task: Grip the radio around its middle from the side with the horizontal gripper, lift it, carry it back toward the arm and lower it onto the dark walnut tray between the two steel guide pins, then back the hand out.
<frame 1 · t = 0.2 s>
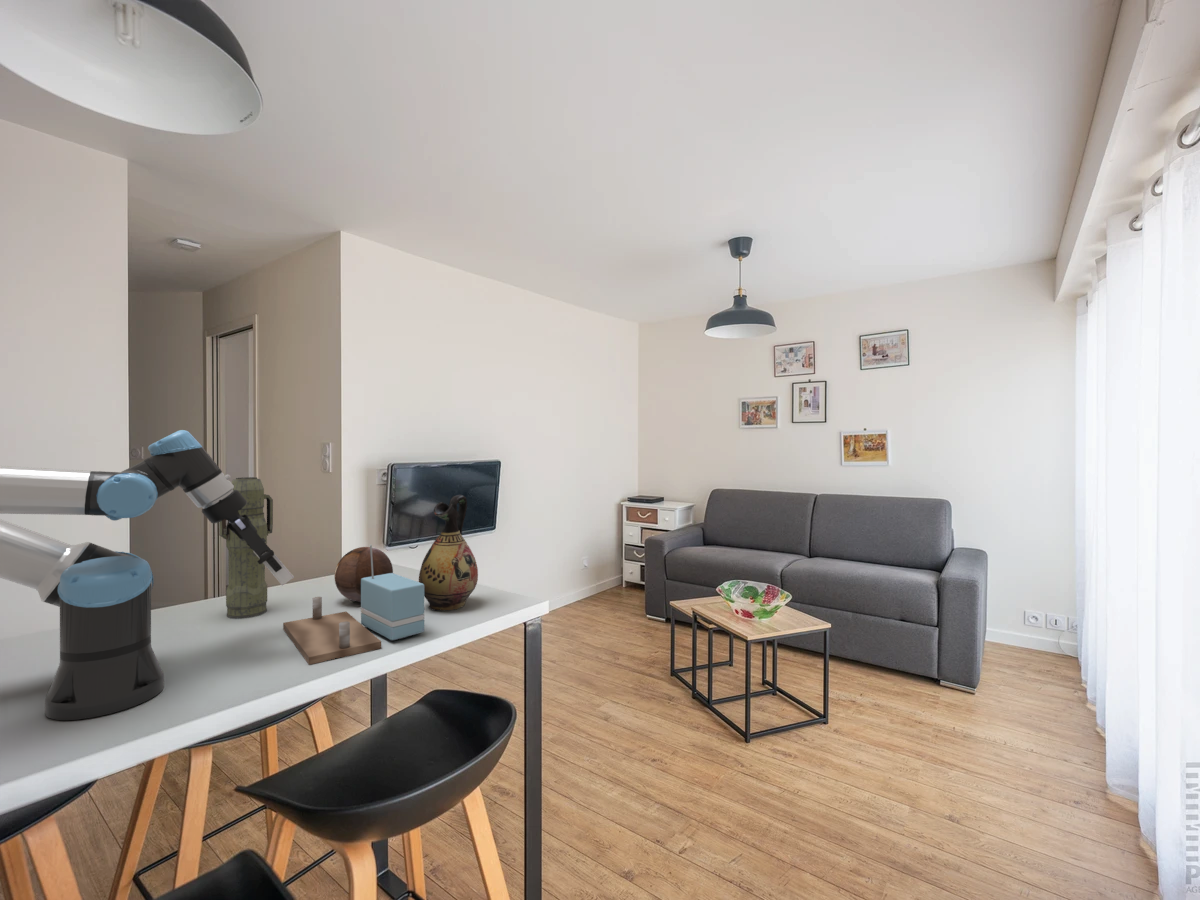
hand: (282, 574, 122), 15 cm above the table, tool tilted 35°, fingers open, 13 cm apart
ceramic jug: (450, 605, 149), on the table
pin tray: (329, 638, 124), on the table
radio: (394, 632, 129), on the table
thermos: (246, 614, 142), on the table
wooden sphere: (364, 601, 153), on the table
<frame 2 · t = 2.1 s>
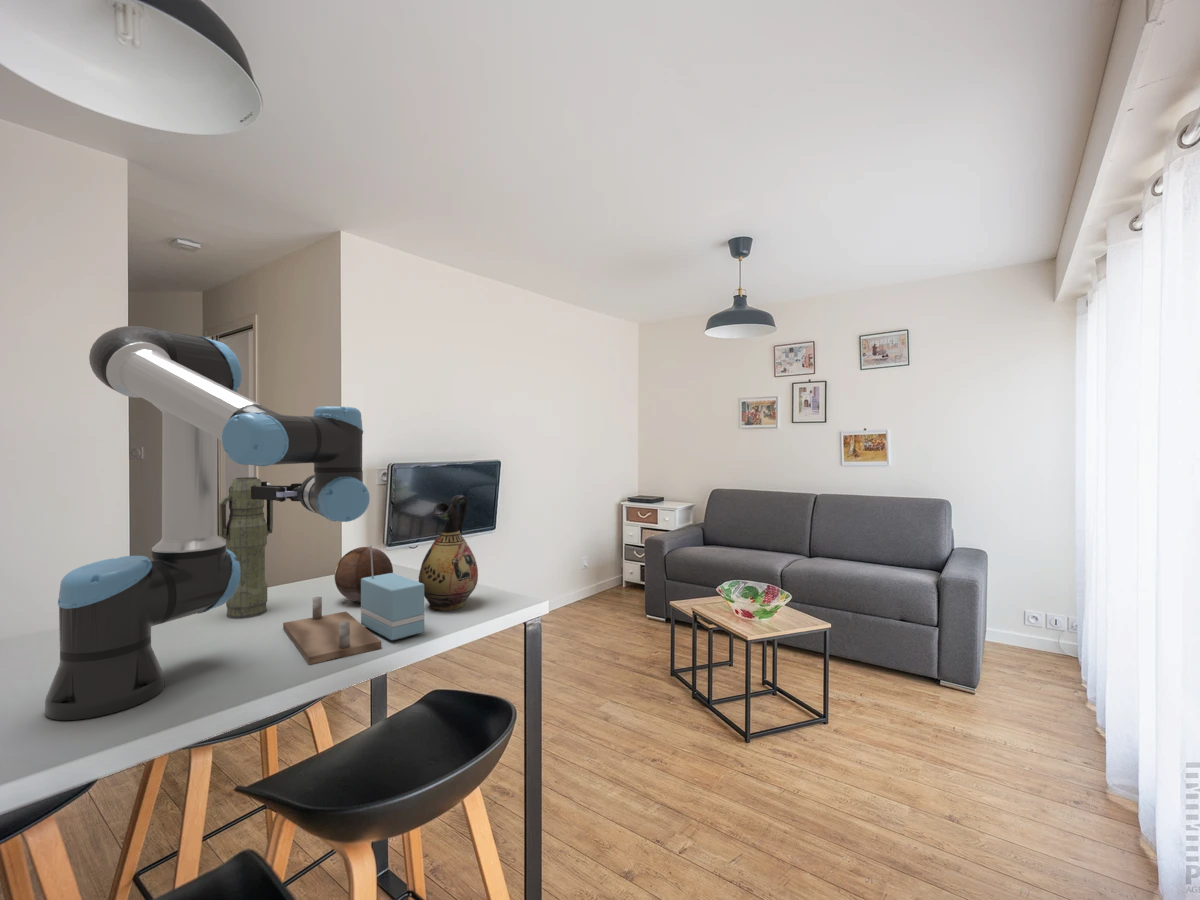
hand: (300, 487, 118), 34 cm above the table, tool horizontal, fingers open, 13 cm apart
nothing on the table moved.
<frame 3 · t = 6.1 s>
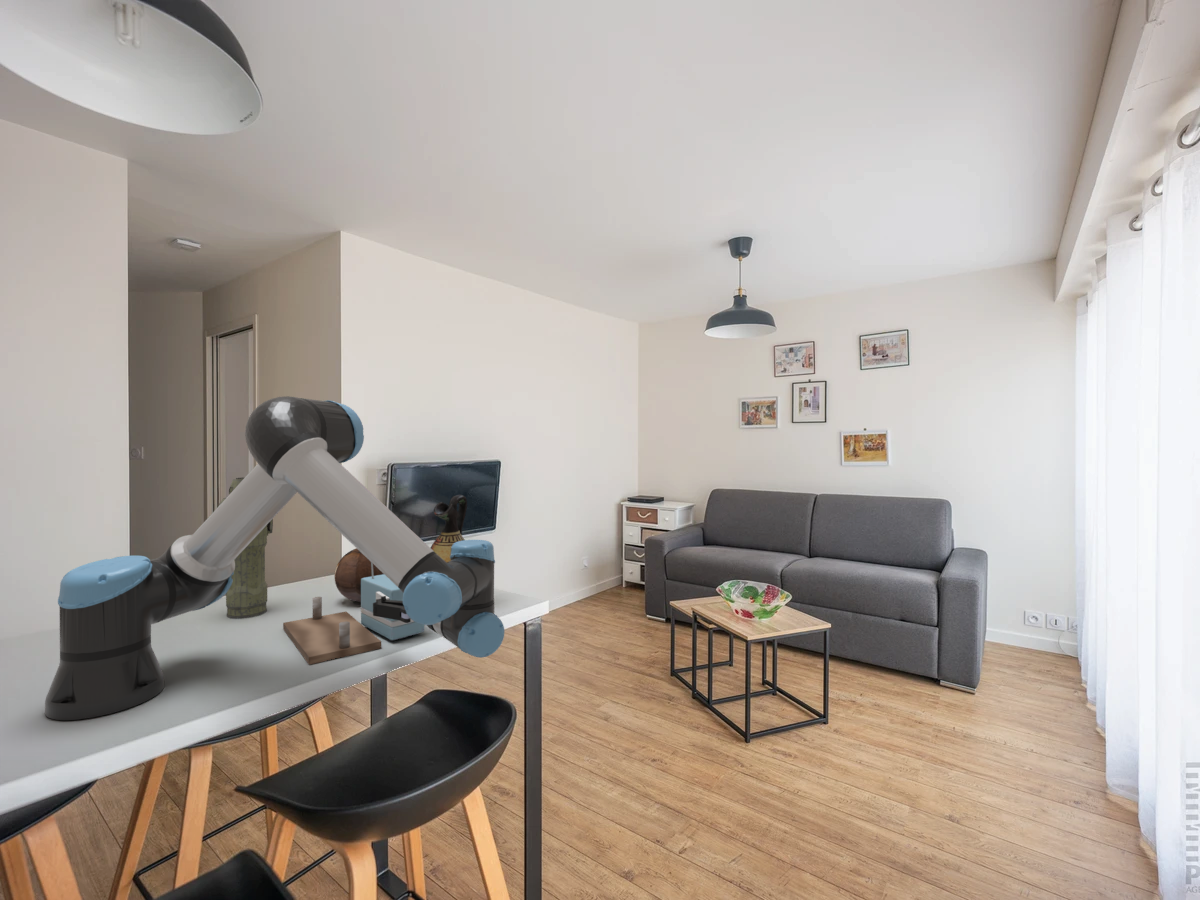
hand: (409, 592, 122), 11 cm above the table, tool horizontal, fingers open, 13 cm apart
nothing on the table moved.
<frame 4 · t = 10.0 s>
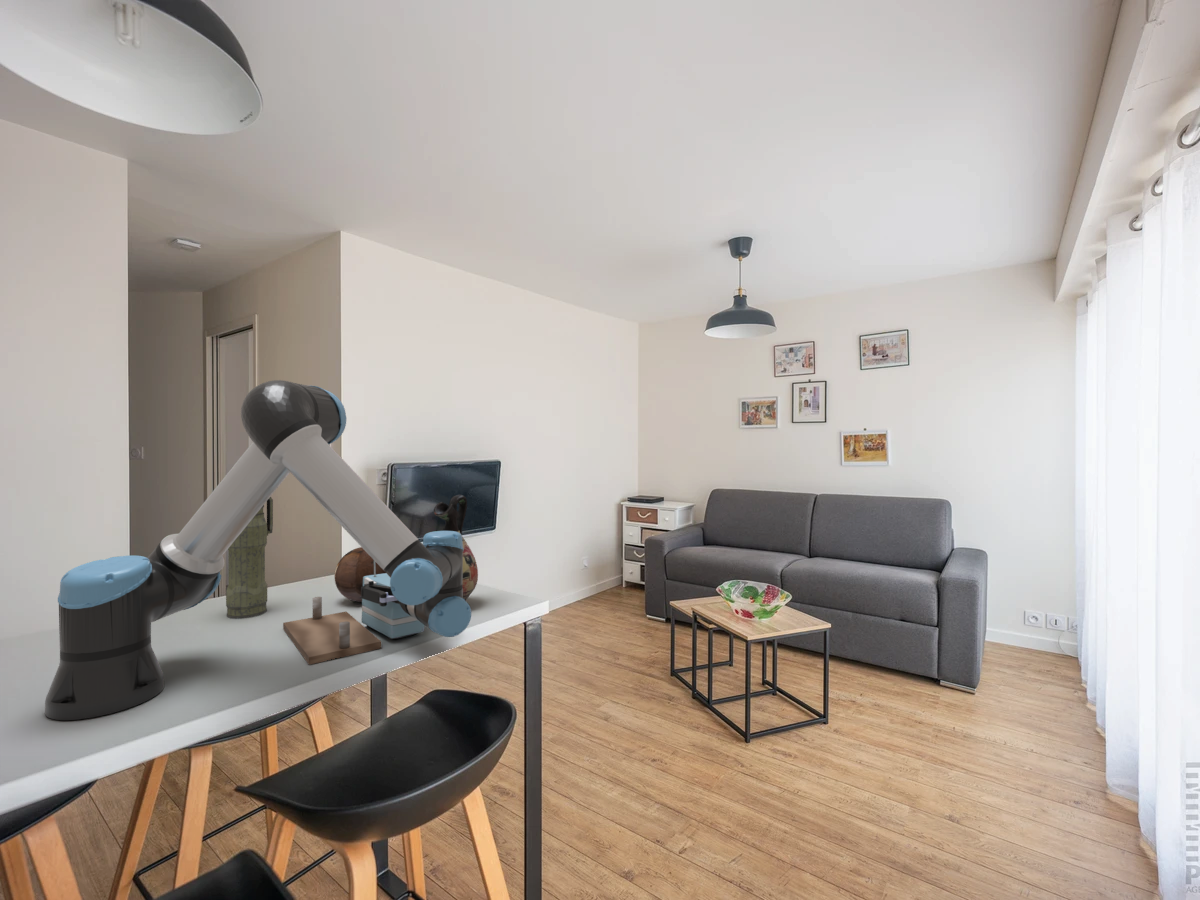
hand: (387, 580, 132), 11 cm above the table, tool horizontal, fingers closed on radio, 9 cm apart
radio: (394, 631, 129), on the table, touching gripper
everything else where it was.
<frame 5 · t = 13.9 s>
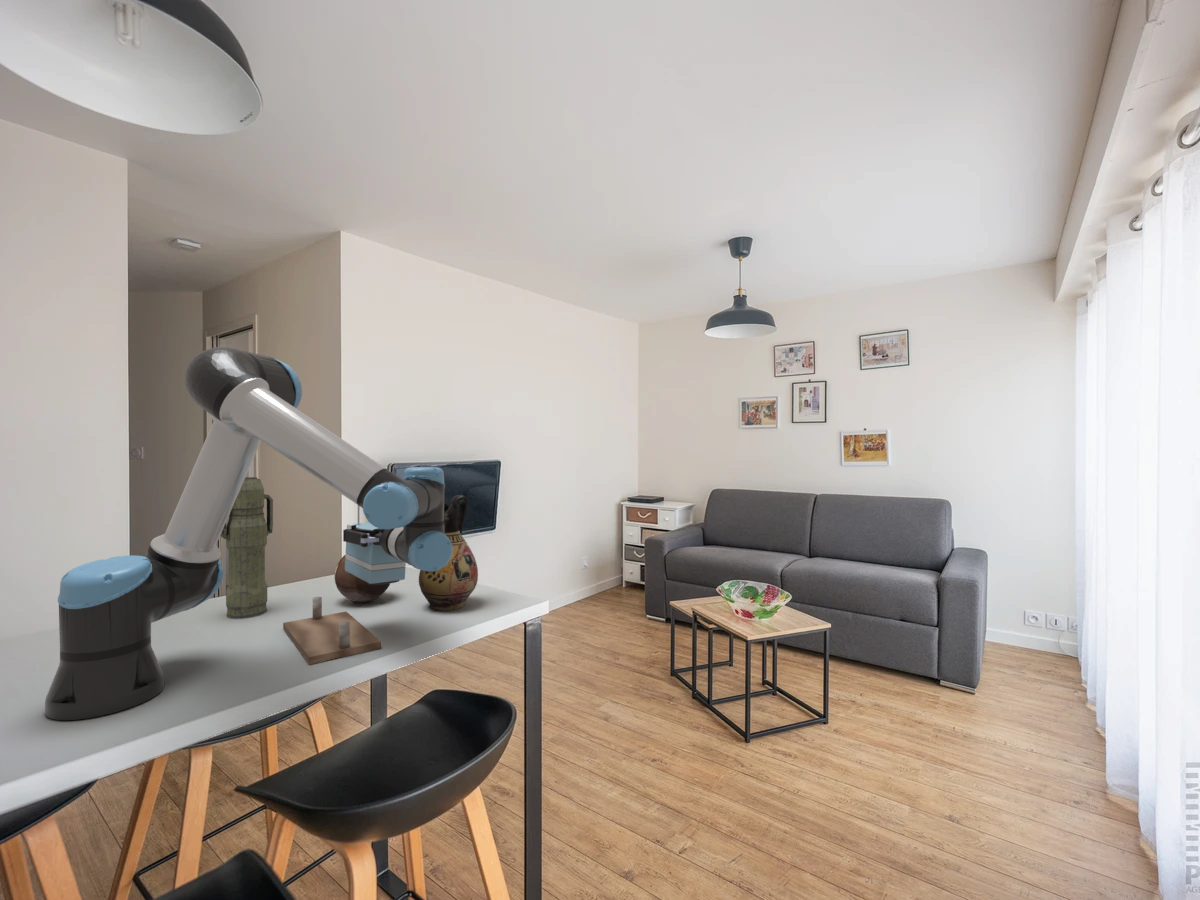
hand: (370, 527, 130), 24 cm above the table, tool horizontal, fingers closed on radio, 9 cm apart
radio: (376, 579, 127), point 12 cm above the table, touching gripper
everything else where it was.
when the fingers open (14 cm above the table, at t = 18.0 s): radio drops 1 cm, resting on pin tray.
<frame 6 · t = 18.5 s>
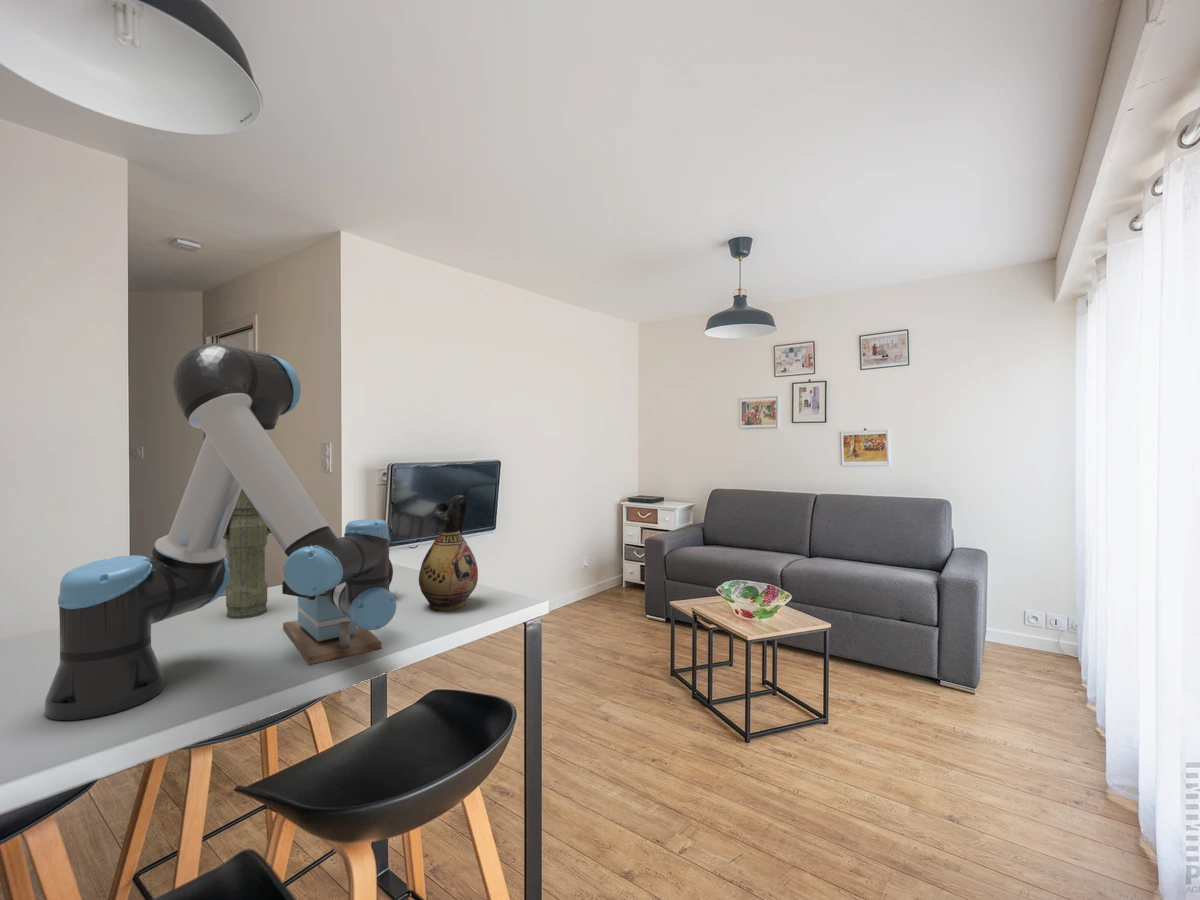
hand: (326, 573, 126), 14 cm above the table, tool horizontal, fingers open, 13 cm apart
radio: (328, 632, 124), point 1 cm above the table, touching pin tray
everything else where it was.
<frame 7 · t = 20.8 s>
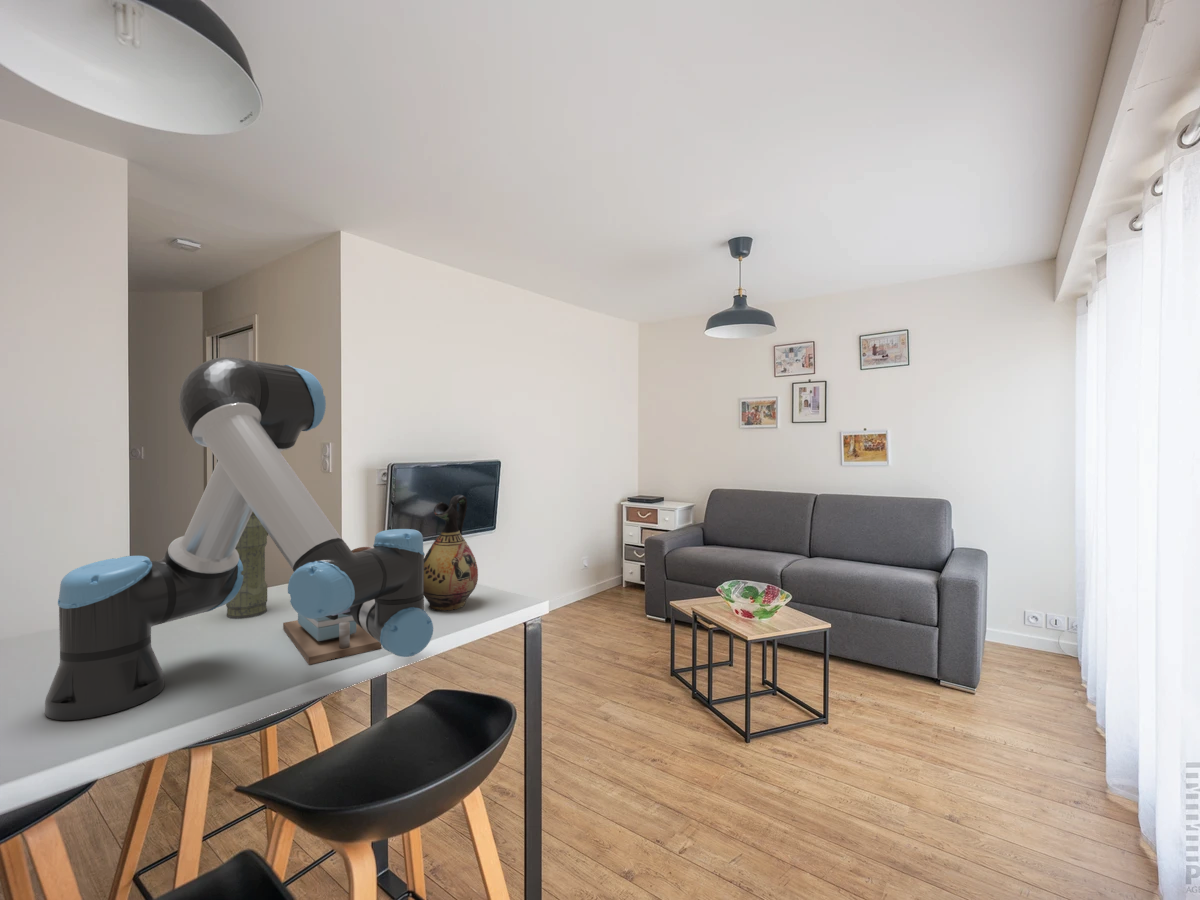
hand: (346, 587, 113), 14 cm above the table, tool horizontal, fingers open, 13 cm apart
nothing on the table moved.
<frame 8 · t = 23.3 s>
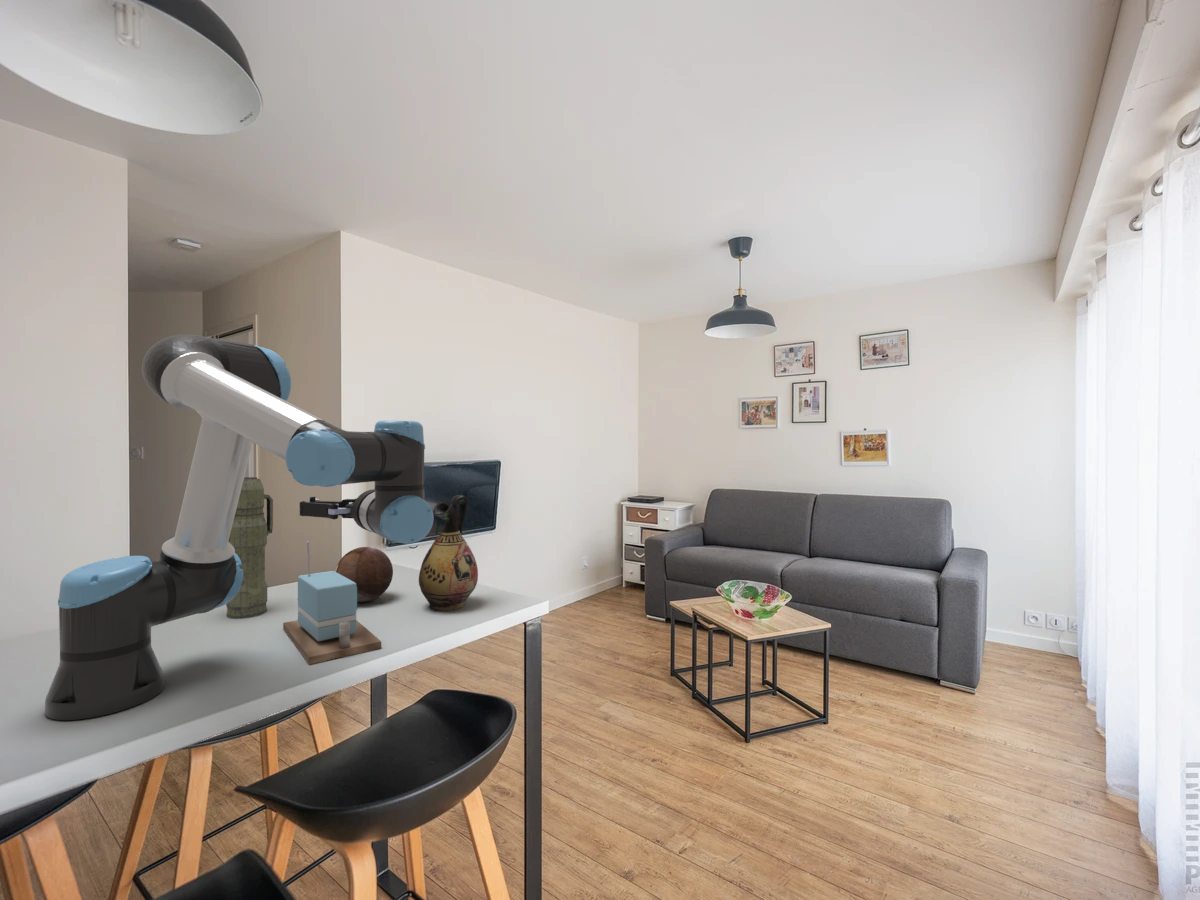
hand: (346, 501, 113), 32 cm above the table, tool horizontal, fingers open, 13 cm apart
nothing on the table moved.
at the end: radio 0.3 cm off-centre on the pin tray, point 1.3 cm above the pin tray's base; radio tilted 0°; the gripper is holding nothing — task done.
